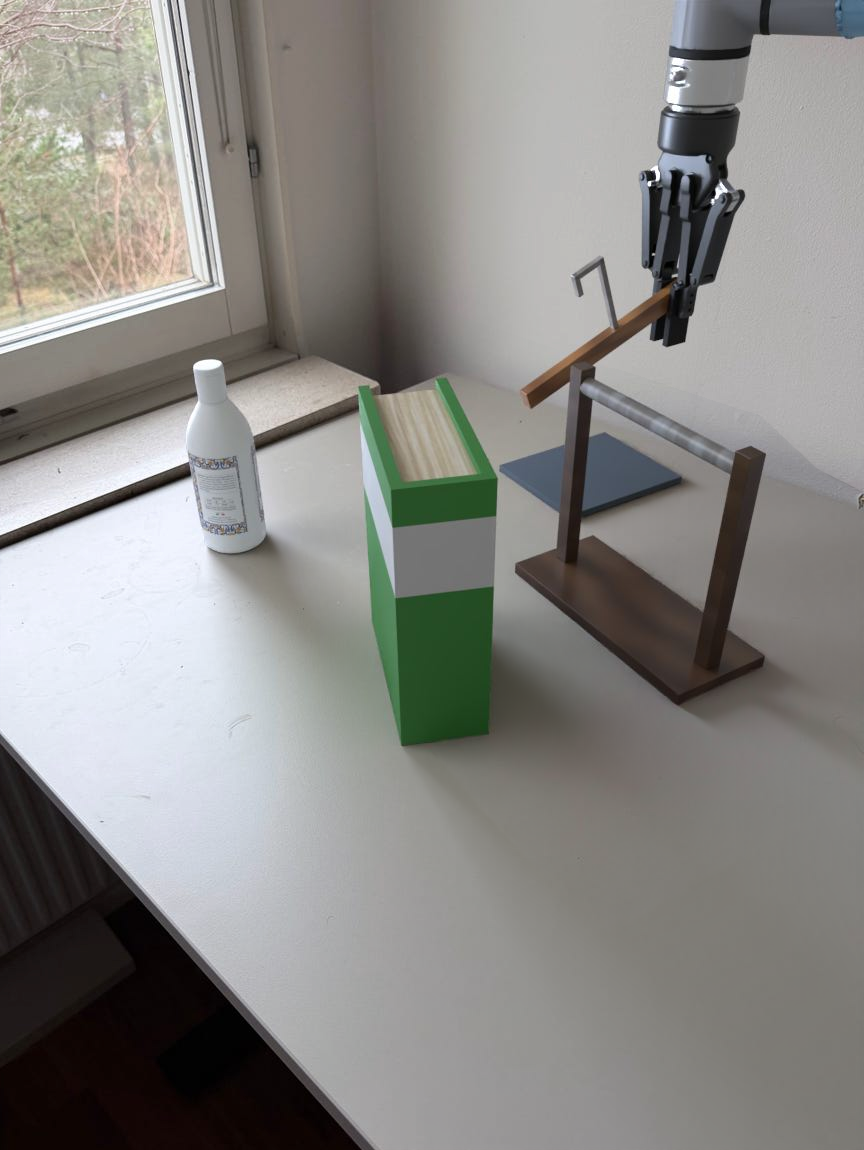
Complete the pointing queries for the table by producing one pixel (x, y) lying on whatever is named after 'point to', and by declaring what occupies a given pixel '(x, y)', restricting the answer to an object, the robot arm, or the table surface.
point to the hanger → (601, 342)
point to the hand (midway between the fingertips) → (667, 340)
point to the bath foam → (223, 466)
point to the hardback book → (430, 559)
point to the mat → (593, 474)
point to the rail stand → (629, 594)
